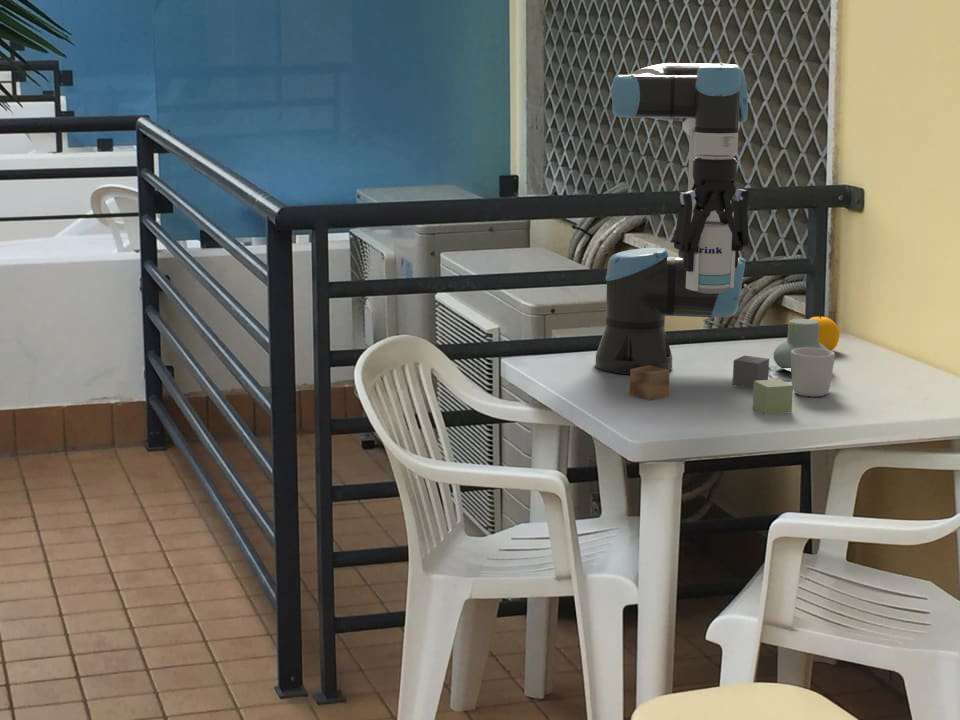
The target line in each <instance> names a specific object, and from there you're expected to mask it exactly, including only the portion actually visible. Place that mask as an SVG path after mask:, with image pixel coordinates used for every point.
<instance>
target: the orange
mask: <svg viewBox="0 0 960 720" xmlns="http://www.w3.org/2000/svg"><path fill="white" fill-rule="evenodd" d="M809 319H810V320H815V321H817V322H818V323H819V336H818V342H819V343H820V344H822V345H824V346H825V347H826V348H827V349H828V350H831V351H833V350H834V349H835V348H836V347H837V346H838V343H839V339H840V330H839V327H838V325H837V323H835V322H834V321H833V320H832V319H831V318H829V317H826V316H820V315H819V316H812V317H810V318H809Z"/></svg>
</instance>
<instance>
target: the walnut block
mask: <svg viewBox="0 0 960 720" xmlns="http://www.w3.org/2000/svg"><path fill="white" fill-rule="evenodd" d="M629 375H630V377H629V378H630V379H629V396H631V397H635V398H638V399H643V400H646V401H654V400H657V399H663V398H667V397H669V392H670V370H667V369H663V368H659V367H655V366H650V365H648V366H643V367H638V368H634V369H630V374H629Z"/></svg>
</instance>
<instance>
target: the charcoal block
mask: <svg viewBox="0 0 960 720" xmlns="http://www.w3.org/2000/svg"><path fill="white" fill-rule="evenodd" d="M732 366H733V369H732V370H733V371H732V386H733V387H739V388H740V387H741V388H746V389H751V390H754V381H757V380H769V373H770V371H769V370H770V369H769V368H770V358H766V357H759V356H758V357H757V356H752V355H743V356H740V357H738V358H736V359H734V360H733V365H732Z"/></svg>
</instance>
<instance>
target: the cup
mask: <svg viewBox="0 0 960 720" xmlns="http://www.w3.org/2000/svg"><path fill="white" fill-rule="evenodd" d="M835 358H836V352H834V351H833V350H827V349H822V348H812V347H804V348H796V349H793V350H791V372H790V373H791V385H793V393H794V394H796V395H799V396H802V395H803V397H808V396H809V397H810V398H811V397H812V398H817V397H822V396H826V395H827V394H828V393H829V391H830V388H831V381H832V375H833V370H834V365H835Z"/></svg>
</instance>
